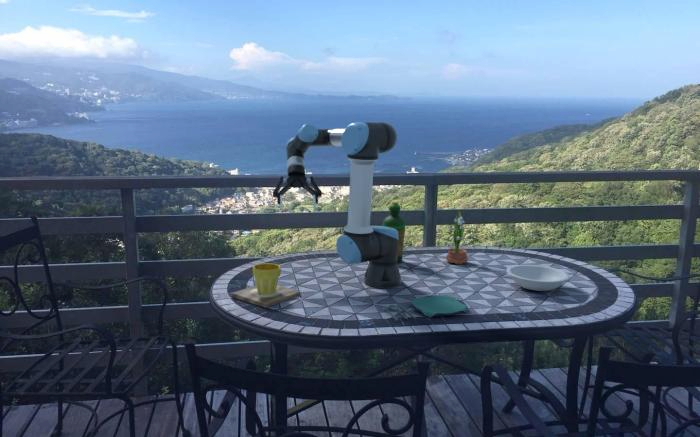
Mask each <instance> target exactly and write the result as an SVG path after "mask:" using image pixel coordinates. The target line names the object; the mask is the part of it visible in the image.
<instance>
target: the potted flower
mask: <svg viewBox="0 0 700 437" xmlns="http://www.w3.org/2000/svg"><path fill="white" fill-rule="evenodd" d="M454 222H455V223H454ZM453 223H454V226H453V227H452V231H453V233H452V234H453V235H452V238H453V241H454V248H449V249H447V255H446V257H445V259H446V261H447V262H448V263H449V262H450V264H452V263H455V264H454V265H464V264H466V263H468V260H469V256H468V255H467V252H468V251H467V250H466V249H464V248H463V249H462V248H460V244H461V242H462V239H463V236H464V232H465V226H464V225H463V224H465V220H464V217H463V216H462V213H461V212H460V210H459V211H457V213H456V216H455V218H454V220H453ZM463 263H464V264H463Z"/></svg>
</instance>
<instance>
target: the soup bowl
mask: <svg viewBox="0 0 700 437" xmlns="http://www.w3.org/2000/svg"><path fill="white" fill-rule="evenodd" d="M506 273H507V274H508V275H510V277H511V279H512V280H513V282H514V283H515V284H516V285H518V286H519V287H521V288H524V289H527V290H531V291H537V292H538V291H539V292H547V291H548V292H549V291H553V290H555V289H557V288H559V287H560V286H562V285H563V283H564V282H566V281H569V279H570V274H569V273H567V271H563V270H561V269H558V268H556V267H551V266H545V265H541V264H540V265H539V264H538V265H537V264H517V265H511V266H509V267H507V268H506Z"/></svg>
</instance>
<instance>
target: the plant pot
mask: <svg viewBox="0 0 700 437" xmlns="http://www.w3.org/2000/svg"><path fill="white" fill-rule="evenodd" d="M281 271H282V268H281V265H280V264H278V263H271V262H270V263H268V262H266V263H265V262H263V263H257V264H254V265H253V266H252V276H253V277H254V280H255V286H257V291H258V293H260V294H273V293H275V291H276V287H277V285H278V282H279V281H278V280H279V278H280V277H281Z"/></svg>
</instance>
